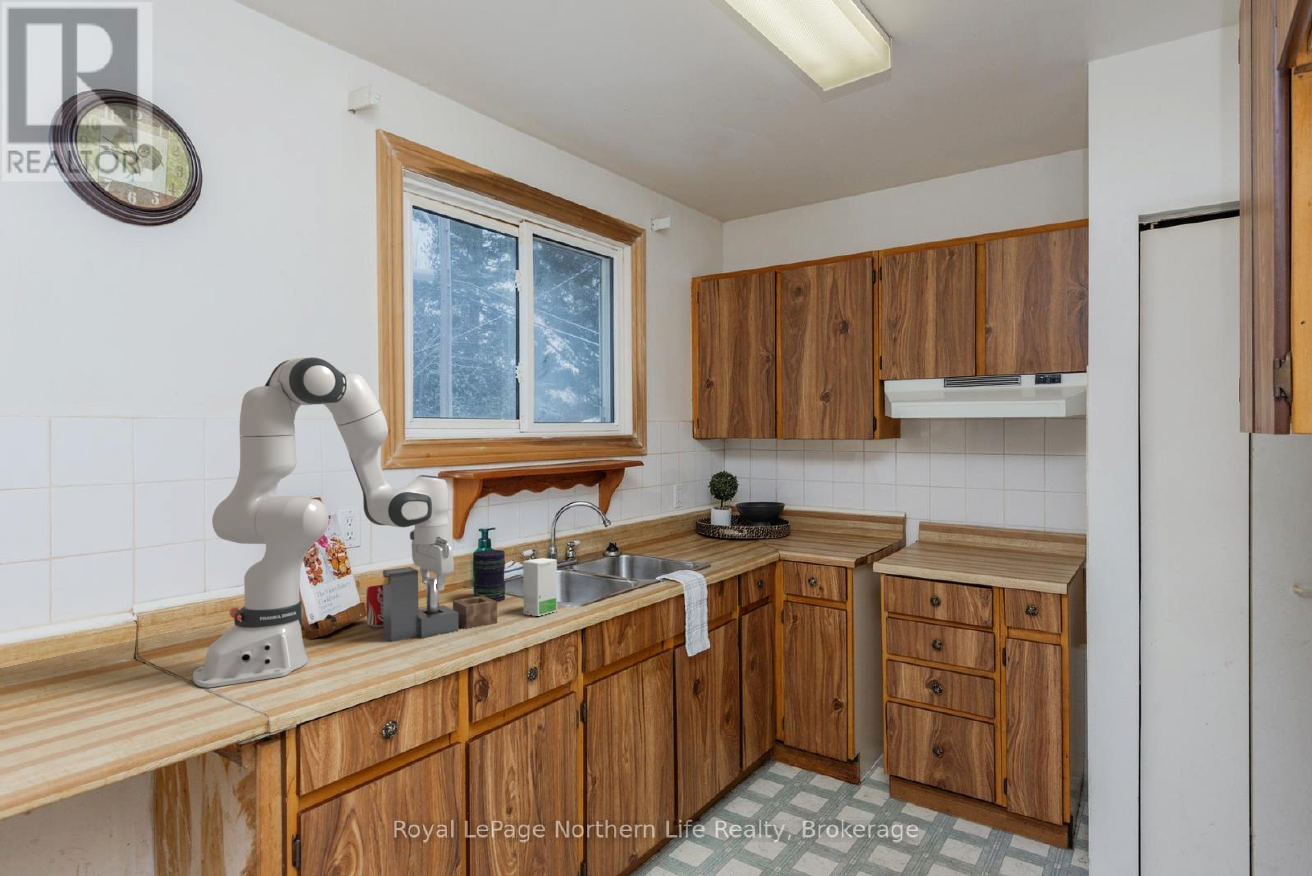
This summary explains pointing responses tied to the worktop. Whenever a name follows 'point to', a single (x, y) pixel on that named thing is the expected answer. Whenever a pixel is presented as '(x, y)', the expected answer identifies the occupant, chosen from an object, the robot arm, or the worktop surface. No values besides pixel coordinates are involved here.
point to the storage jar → (489, 574)
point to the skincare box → (539, 586)
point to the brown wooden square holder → (475, 611)
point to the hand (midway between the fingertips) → (433, 586)
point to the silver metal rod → (432, 596)
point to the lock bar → (372, 582)
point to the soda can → (375, 606)
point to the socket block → (411, 609)
